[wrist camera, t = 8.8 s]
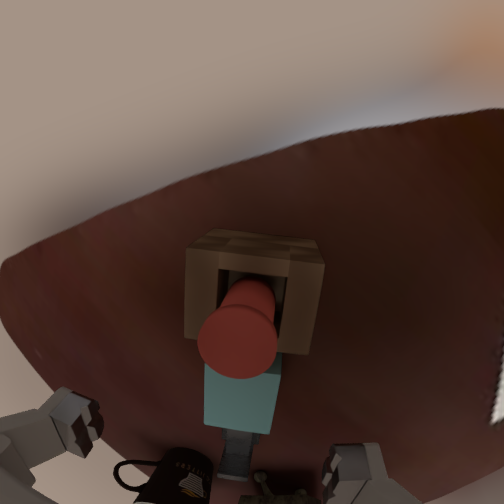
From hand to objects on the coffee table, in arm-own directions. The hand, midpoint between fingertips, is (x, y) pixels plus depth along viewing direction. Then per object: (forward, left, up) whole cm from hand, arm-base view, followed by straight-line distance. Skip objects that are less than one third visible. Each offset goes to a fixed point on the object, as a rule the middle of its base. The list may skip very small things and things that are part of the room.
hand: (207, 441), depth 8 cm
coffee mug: (+7, +25, -17) cm, 32 cm away
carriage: (0, +7, -16) cm, 17 cm away
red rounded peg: (0, -1, -11) cm, 11 cm away
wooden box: (0, -1, -17) cm, 17 cm away
